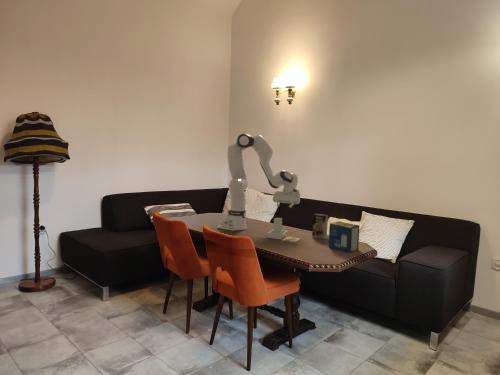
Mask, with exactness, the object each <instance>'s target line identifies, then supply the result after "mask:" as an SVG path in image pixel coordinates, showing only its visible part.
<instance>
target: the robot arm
mask: <svg viewBox="0 0 500 375" xmlns="http://www.w3.org/2000/svg"><path fill="white" fill-rule="evenodd" d="M249 148H252V149H253V150H254V151H255V152H256V154H257V156H258V158H259V165H260V167H261V169H262V170H263V172H264V174H265V176H266V178H267V182H268V184H269V186H270V187H271V188H272V189H279V188H280V187H281V186H283V189H282V191H275V192H274V194H273V196H272V201H273V203H276V207H277V208H279V207H280V203H281V204H288V208H289V209H292V207H293V206H294V205H299V204H300V202H301V193H300V190H299V189H297V185H298V180H299V178H298V175H296V173H293V172H291V173H290V172H289V171H287V170H285V169H283V170H280V171H278V172H277V173H276V174H275V173H274V172H273V170H272V168H271V166H270V160H271V159H272V157H273V149H272V146H270V144H269V143H268V141H267V139H265V138H264V137H263V136H262V135H260V134H257V135H254V136H252V135H250V134H248V133H241V134H239V135H238V136H237V138H236V142H235V143H233V144H230V145H229V146H228V147H227V161H228V162H227V163H228V169H229V172H230V175H231V180H230V181H229V184H228V188H229V195H230V209H229V210H227V213H228V214H227V215H225V216H224V217H223V218H222V219H221V221H220V224H219V225H217V229H222V230H226V231H233V232H234V231H244V230H245V231H246V230H247V229H248V227H247V223H246V222H247V221H246V216H247V213H246V211H247V210H246V196H245V194H246V193H245V191H246V189H247V187H248V179H247V174H246V172H245V164H244V159H243V152H244V150H247V149H249Z"/></svg>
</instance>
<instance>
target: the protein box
mask: <svg viewBox="0 0 500 375" xmlns="http://www.w3.org/2000/svg"><path fill="white" fill-rule="evenodd" d="M359 241H360V224H355V223H348V222H343V221H334V222H329V231H328V248H330V249H335V250H338V251H341V252H345V253H352V252H355V251H359V243H360V242H359Z"/></svg>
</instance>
